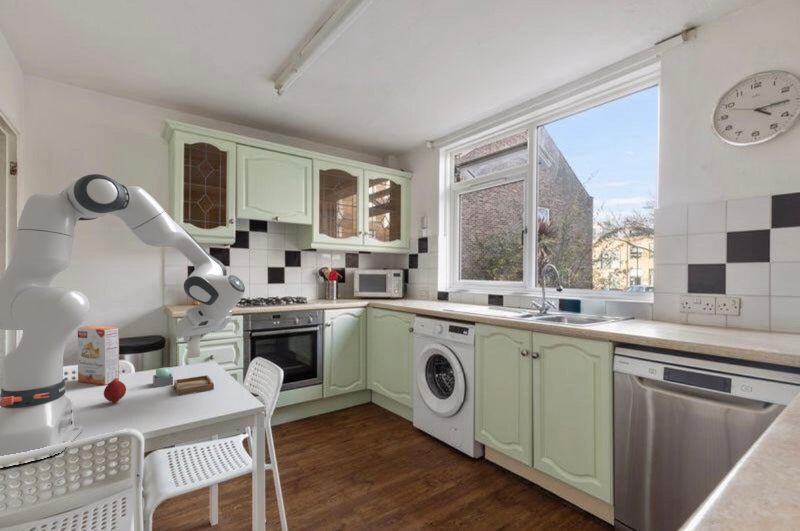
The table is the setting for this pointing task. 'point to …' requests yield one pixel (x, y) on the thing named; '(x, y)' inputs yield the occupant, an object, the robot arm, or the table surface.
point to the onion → (114, 391)
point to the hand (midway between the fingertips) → (192, 338)
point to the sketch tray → (193, 385)
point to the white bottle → (194, 346)
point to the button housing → (162, 381)
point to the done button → (162, 372)
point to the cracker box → (98, 354)
